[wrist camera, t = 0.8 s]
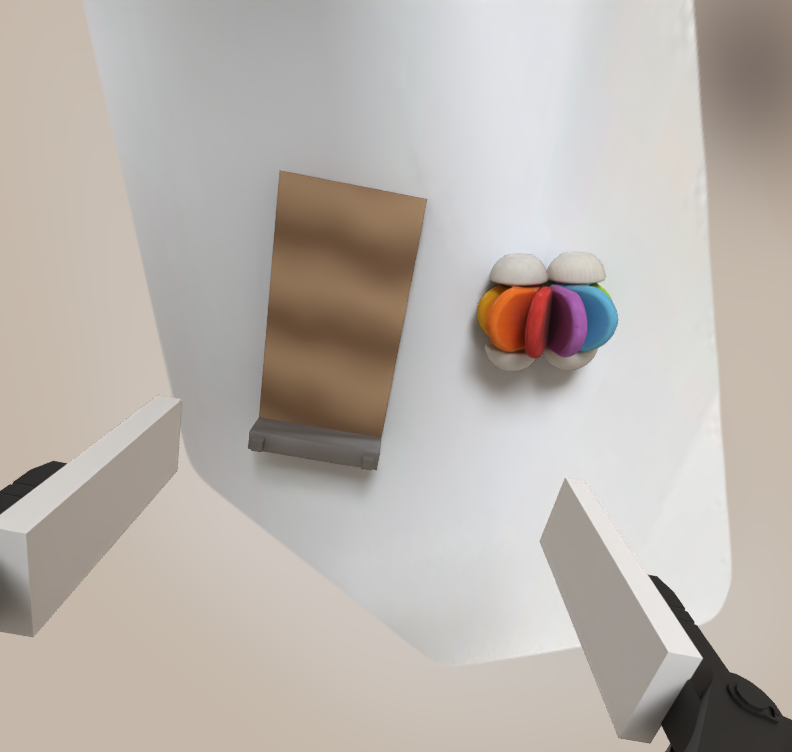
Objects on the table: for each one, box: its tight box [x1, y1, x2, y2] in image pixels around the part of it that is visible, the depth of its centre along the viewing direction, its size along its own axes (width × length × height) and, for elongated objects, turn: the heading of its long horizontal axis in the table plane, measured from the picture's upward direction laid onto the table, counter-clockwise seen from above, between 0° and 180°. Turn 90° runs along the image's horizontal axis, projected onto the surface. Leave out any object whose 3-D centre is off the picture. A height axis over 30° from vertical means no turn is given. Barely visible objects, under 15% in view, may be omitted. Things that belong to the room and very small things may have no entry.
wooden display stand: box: [248, 171, 427, 470], centre depth 34 cm, size 20×10×5 cm, turn 170°
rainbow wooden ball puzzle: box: [477, 252, 618, 371], centre depth 33 cm, size 8×10×7 cm
